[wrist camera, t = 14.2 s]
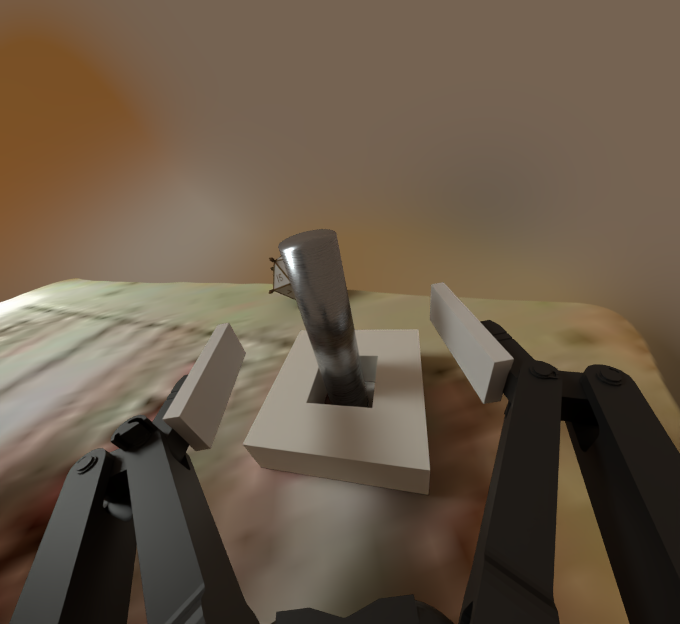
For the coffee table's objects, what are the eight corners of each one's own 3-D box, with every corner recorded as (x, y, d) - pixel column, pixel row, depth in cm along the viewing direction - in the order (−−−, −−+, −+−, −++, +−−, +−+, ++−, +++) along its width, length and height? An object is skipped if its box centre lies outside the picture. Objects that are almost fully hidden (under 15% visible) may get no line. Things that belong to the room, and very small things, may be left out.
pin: (329, 419, 21) (268, 253, 12) (336, 388, 23) (291, 232, 15) (366, 422, 20) (328, 247, 11) (370, 390, 22) (341, 226, 14)
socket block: (261, 467, 18) (242, 444, 16) (308, 353, 28) (300, 330, 26) (428, 494, 15) (430, 470, 13) (418, 355, 25) (418, 329, 23)
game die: (305, 310, 43) (295, 255, 43) (341, 300, 37) (330, 238, 38) (260, 314, 36) (249, 248, 36) (297, 303, 30) (284, 226, 31)
